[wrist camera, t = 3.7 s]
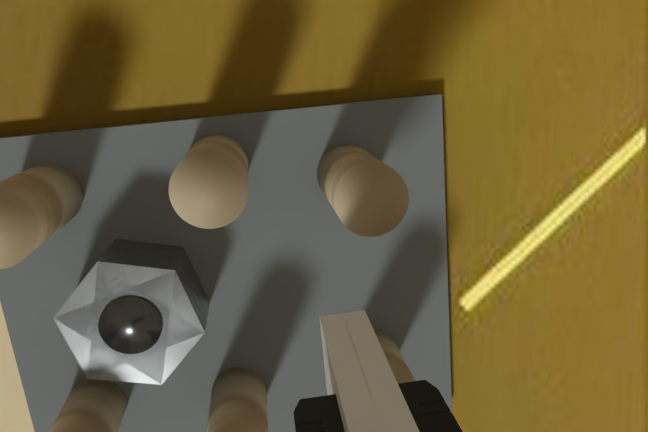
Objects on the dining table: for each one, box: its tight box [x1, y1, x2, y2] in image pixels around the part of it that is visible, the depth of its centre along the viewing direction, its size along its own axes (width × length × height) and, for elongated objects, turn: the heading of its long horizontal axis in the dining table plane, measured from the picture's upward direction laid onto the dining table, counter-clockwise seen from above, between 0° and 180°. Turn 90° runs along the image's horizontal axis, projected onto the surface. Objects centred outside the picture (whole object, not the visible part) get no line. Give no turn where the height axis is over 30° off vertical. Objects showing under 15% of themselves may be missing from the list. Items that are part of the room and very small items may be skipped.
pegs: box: [0, 134, 415, 432], centre depth 22 cm, size 16×14×6 cm
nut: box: [54, 239, 210, 385], centre depth 23 cm, size 5×6×3 cm
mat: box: [0, 94, 452, 432], centre depth 25 cm, size 30×16×1 cm, turn 95°
